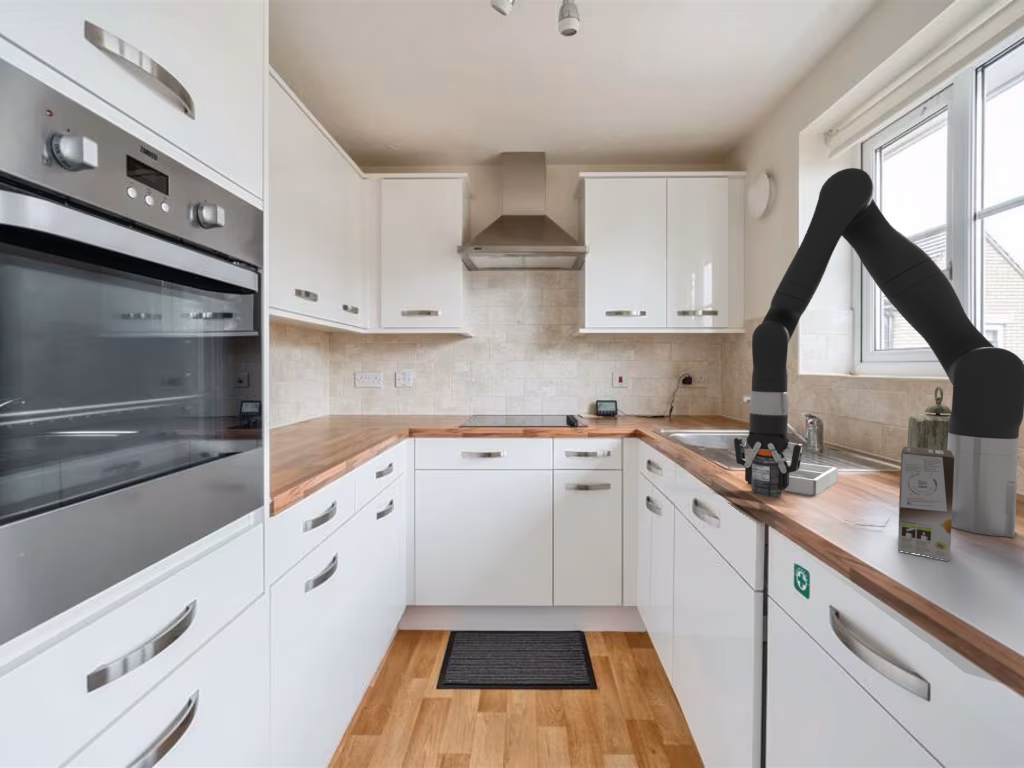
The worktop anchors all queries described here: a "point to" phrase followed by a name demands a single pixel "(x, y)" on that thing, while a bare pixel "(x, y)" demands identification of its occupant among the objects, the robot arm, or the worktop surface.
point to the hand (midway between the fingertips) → (766, 486)
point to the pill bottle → (765, 474)
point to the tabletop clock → (930, 426)
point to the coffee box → (926, 502)
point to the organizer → (812, 478)
